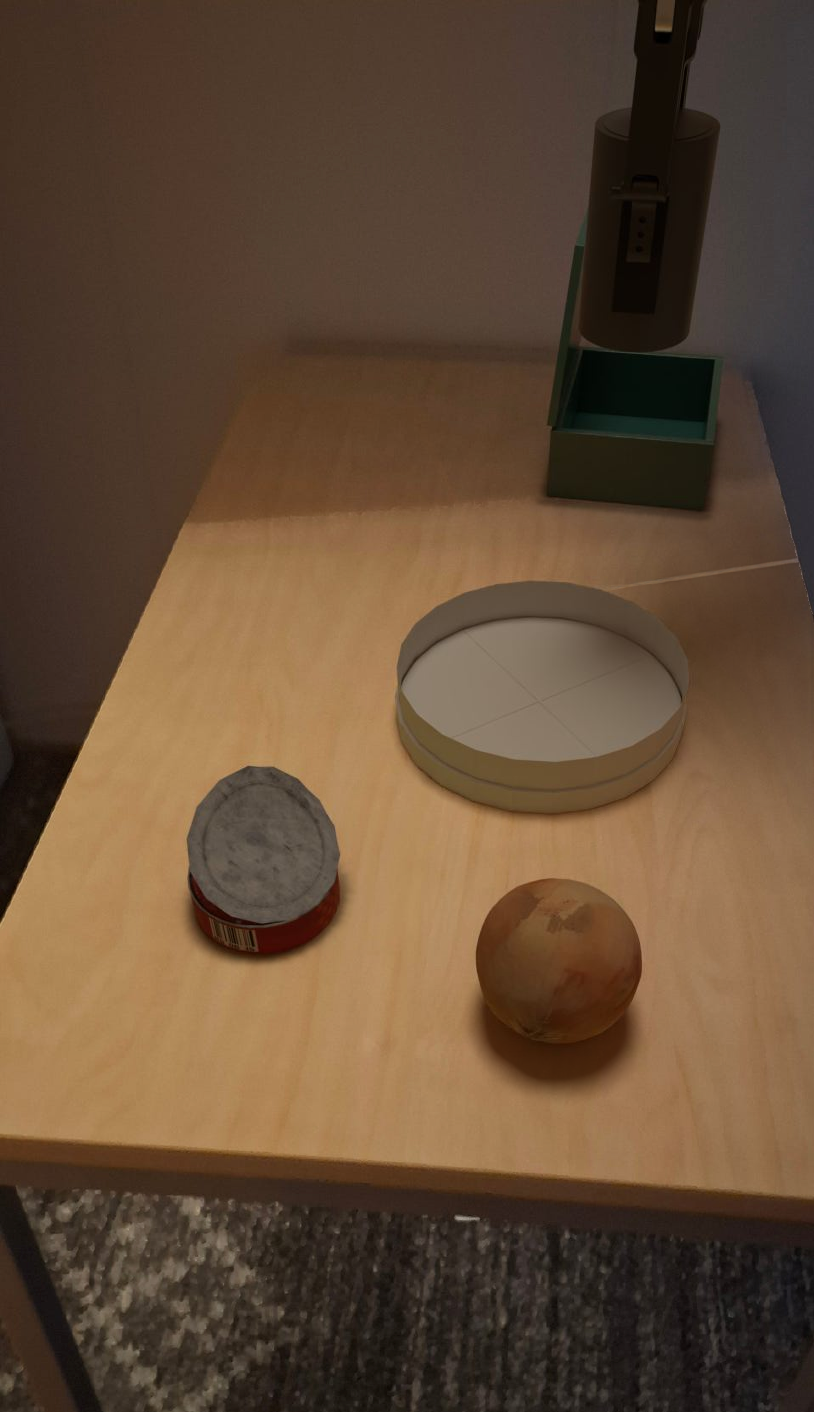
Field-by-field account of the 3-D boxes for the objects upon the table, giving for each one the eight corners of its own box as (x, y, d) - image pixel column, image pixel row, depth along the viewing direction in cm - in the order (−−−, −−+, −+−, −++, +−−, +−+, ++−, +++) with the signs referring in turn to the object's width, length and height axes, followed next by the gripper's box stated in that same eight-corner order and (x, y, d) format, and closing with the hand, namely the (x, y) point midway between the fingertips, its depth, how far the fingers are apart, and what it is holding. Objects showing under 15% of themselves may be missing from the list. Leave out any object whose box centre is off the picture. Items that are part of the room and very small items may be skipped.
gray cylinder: (666, 301, 81) (693, 100, 72) (706, 345, 76) (740, 135, 67) (564, 313, 80) (579, 110, 71) (598, 358, 76) (618, 147, 67)
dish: (497, 858, 80) (499, 807, 77) (345, 688, 93) (341, 636, 90) (743, 744, 88) (756, 692, 84) (570, 601, 101) (575, 550, 97)
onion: (634, 954, 75) (655, 846, 67) (629, 1086, 68) (651, 983, 61) (484, 937, 76) (488, 829, 68) (464, 1065, 69) (466, 962, 62)
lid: (609, 172, 106) (600, 170, 106) (584, 246, 94) (574, 245, 94) (580, 341, 117) (572, 340, 117) (555, 427, 106) (546, 425, 106)
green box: (711, 426, 121) (723, 356, 115) (700, 518, 109) (714, 444, 103) (570, 415, 123) (576, 345, 118) (545, 504, 111) (550, 431, 106)
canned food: (326, 899, 84) (387, 810, 78) (293, 1001, 77) (356, 912, 71) (184, 829, 82) (234, 731, 76) (135, 927, 75) (186, 828, 68)
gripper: (640, -208, 67) (600, 226, 84) (596, -155, 53) (560, 348, 70) (774, -209, 65) (707, 232, 82) (764, -155, 52) (686, 357, 69)
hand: (639, 285), depth 76 cm, fingers closed on gray cylinder, 7 cm apart
